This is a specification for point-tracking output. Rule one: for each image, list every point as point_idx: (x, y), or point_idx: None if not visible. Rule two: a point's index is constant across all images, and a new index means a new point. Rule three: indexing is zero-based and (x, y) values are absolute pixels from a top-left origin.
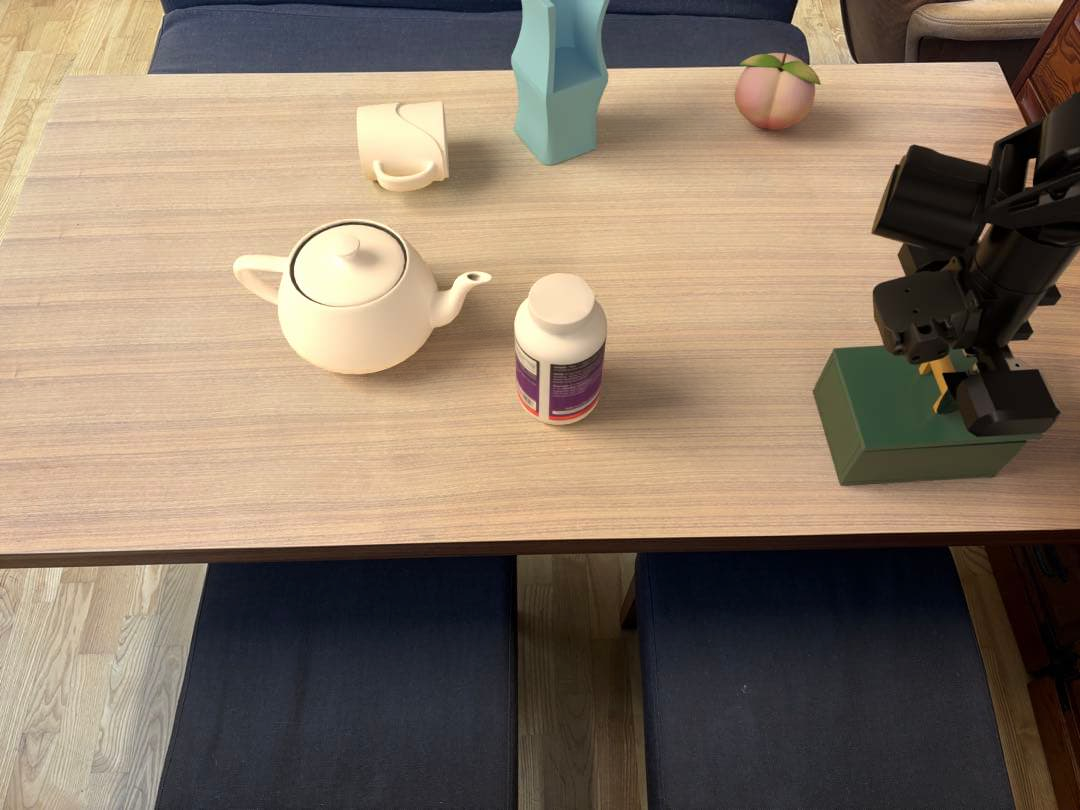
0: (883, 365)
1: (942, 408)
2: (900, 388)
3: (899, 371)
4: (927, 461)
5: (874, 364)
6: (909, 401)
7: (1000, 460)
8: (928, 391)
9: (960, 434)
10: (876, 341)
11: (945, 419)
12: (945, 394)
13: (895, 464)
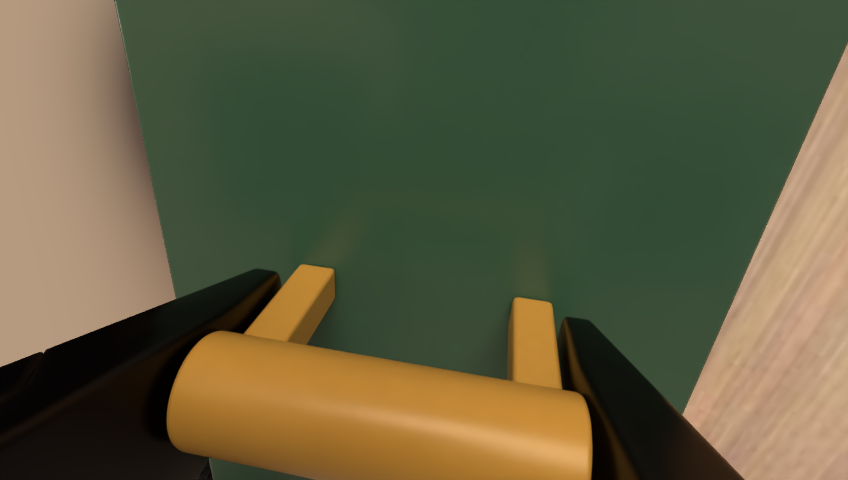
0: (632, 140)
1: (181, 297)
2: (457, 170)
3: (563, 209)
4: None
5: (660, 88)
6: (371, 180)
7: None
8: (419, 287)
9: None
10: (817, 237)
11: None
12: (114, 361)
13: None
